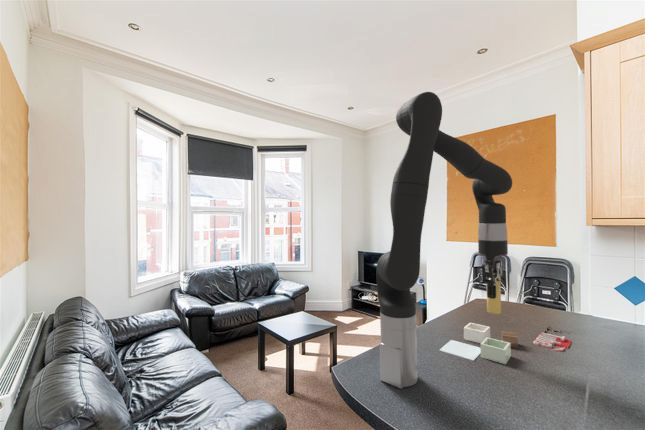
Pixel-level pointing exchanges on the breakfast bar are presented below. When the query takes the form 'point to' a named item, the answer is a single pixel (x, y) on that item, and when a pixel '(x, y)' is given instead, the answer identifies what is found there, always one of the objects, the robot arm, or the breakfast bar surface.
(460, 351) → the thin white panel
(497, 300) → the peg
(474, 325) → the pot white
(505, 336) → the walnut block
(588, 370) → the breakfast bar surface
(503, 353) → the pot green
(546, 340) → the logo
